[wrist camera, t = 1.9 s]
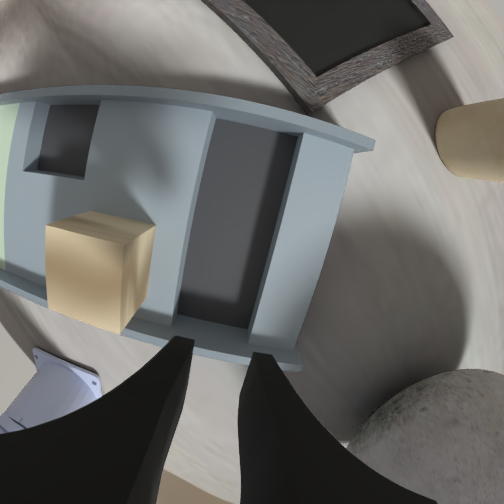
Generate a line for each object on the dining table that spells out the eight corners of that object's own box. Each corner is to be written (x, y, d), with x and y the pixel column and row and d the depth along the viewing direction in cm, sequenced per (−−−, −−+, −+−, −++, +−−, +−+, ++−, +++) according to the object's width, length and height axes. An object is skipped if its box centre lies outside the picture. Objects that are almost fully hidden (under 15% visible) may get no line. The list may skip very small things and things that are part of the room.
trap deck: (292, 342, 20) (300, 372, 16) (-22, 250, 17) (-45, 260, 14) (351, 145, 16) (375, 140, 13) (-10, 104, 13) (-34, 101, 10)
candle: (423, 117, 15) (529, 99, 6) (465, 102, 15) (556, 88, 5) (448, 187, 17) (552, 209, 7) (485, 165, 16) (576, 176, 7)
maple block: (147, 296, 16) (119, 334, 12) (86, 278, 16) (48, 308, 11) (156, 225, 15) (124, 245, 11) (90, 210, 15) (45, 224, 10)
